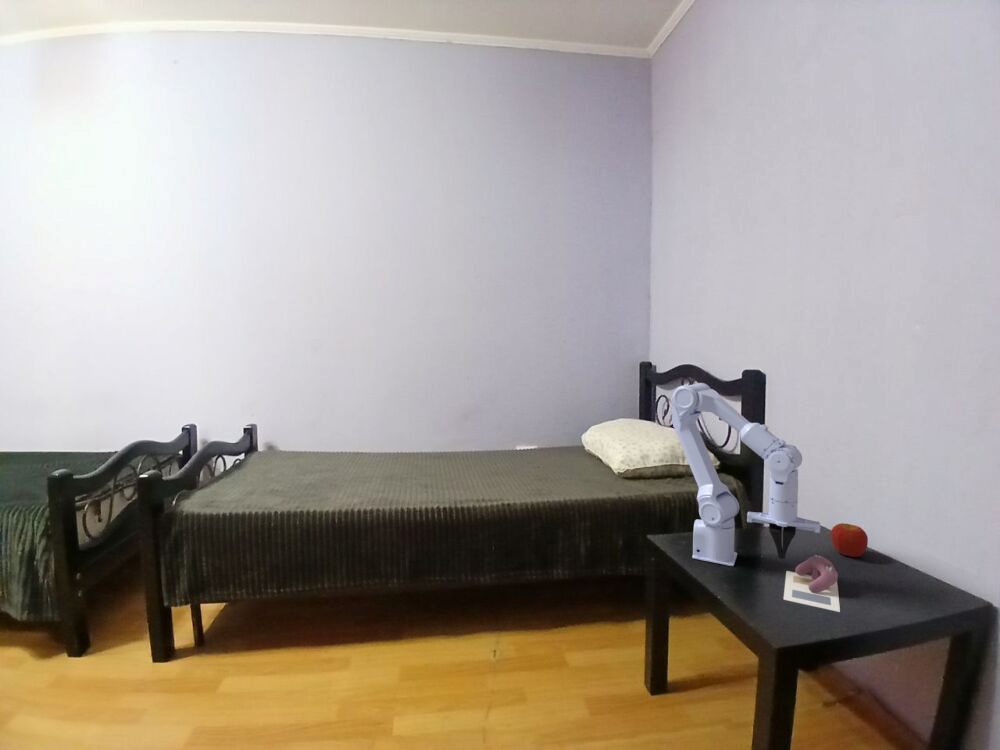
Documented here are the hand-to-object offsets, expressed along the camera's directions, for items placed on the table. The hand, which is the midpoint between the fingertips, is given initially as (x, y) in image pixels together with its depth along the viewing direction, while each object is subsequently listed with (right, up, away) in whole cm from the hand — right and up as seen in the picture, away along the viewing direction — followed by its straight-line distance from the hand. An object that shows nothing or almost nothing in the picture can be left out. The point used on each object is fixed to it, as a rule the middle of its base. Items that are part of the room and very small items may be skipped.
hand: (781, 557), depth 119 cm
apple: (+23, -4, +12) cm, 27 cm away
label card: (+3, -5, -6) cm, 8 cm away
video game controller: (+6, -5, -3) cm, 8 cm away
